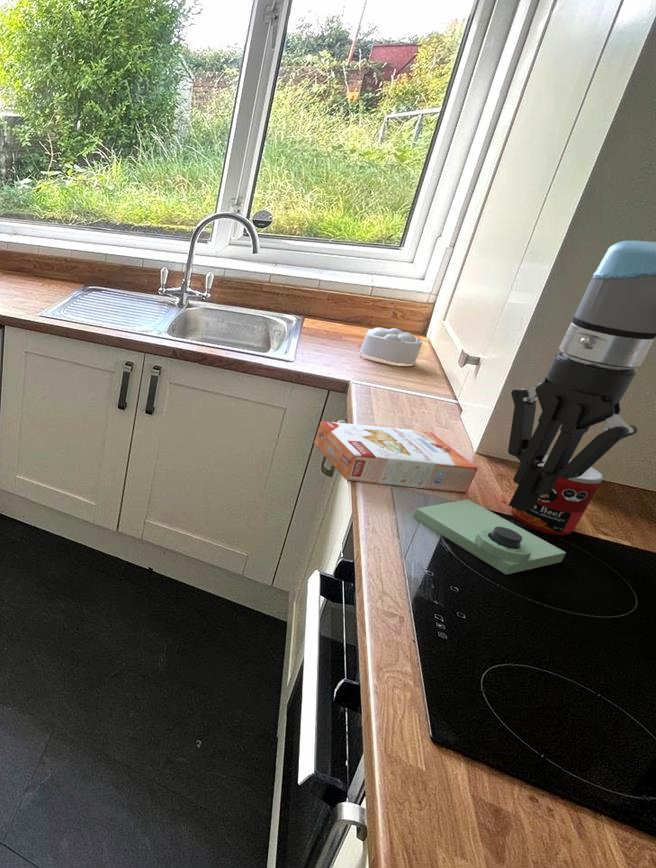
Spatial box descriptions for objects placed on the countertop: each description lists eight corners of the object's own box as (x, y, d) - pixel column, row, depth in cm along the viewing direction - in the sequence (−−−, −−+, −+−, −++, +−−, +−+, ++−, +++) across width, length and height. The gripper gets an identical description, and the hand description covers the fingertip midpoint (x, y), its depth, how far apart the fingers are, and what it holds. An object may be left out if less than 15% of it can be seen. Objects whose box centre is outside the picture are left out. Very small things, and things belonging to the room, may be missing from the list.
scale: (561, 562, 89) (571, 544, 88) (503, 575, 86) (513, 557, 85) (463, 508, 102) (471, 491, 100) (410, 517, 99) (417, 500, 97)
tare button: (523, 547, 87) (528, 538, 87) (507, 551, 87) (512, 541, 86) (499, 534, 90) (503, 525, 90) (484, 537, 89) (488, 528, 89)
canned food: (499, 513, 101) (526, 458, 96) (526, 504, 103) (553, 451, 99) (555, 541, 94) (586, 484, 90) (582, 531, 97) (614, 475, 93)
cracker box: (481, 466, 103) (354, 454, 106) (468, 494, 106) (344, 482, 108) (431, 429, 116) (319, 419, 119) (420, 455, 119) (311, 445, 121)
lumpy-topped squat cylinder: (362, 349, 177) (371, 322, 174) (415, 360, 169) (425, 333, 166) (357, 358, 170) (366, 330, 167) (412, 370, 162) (423, 341, 159)
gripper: (519, 344, 82) (455, 485, 91) (643, 382, 70) (556, 539, 79) (556, 341, 84) (489, 479, 93) (683, 377, 72) (593, 531, 81)
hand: (520, 506), depth 86 cm, fingers closed
